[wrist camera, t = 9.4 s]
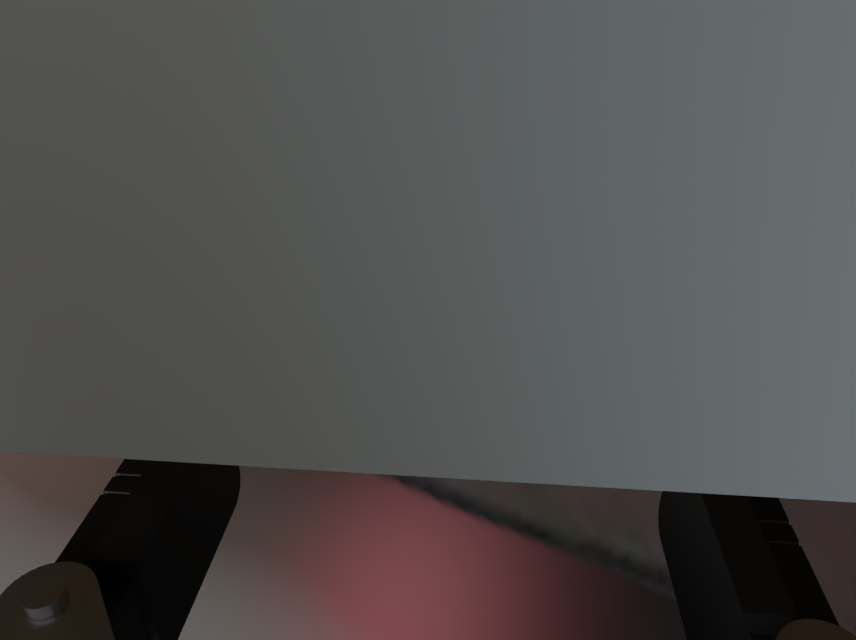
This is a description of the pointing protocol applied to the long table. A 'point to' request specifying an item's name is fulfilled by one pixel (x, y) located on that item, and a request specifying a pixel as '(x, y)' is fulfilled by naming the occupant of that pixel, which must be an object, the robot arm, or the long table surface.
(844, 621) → the long table surface
